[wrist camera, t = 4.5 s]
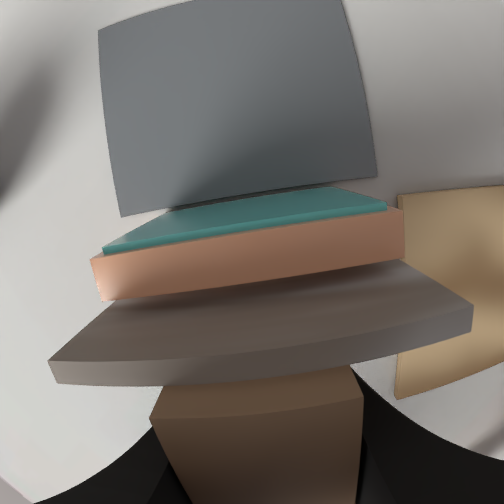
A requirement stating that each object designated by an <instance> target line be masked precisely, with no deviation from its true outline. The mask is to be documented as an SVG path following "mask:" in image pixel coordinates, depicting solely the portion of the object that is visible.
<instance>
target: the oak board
mask: <svg viewBox="0 0 504 504" xmlns="http://www.w3.org/2000/svg"><path fill="white" fill-rule="evenodd" d="M397 200H398V209H400V210H403V224H404V247H405V257H404V258H401V261H403V262H405V263H406V264H408V265H410V266H411V267H413V268H415V269H417V270H418V271H420V272H422V273H423V274H425V275H427V276H428V277H430V278H432V279H433V280H435V281H436V282H438V283H440V284H441V285H443V286H445V287H446V288H448V289H449V290H451V291H453V292H454V293H456V294H457V295H459V296H461V297H462V298H464V299H465V300H467V301H468V302H470V303H471V304H473V305H474V312H473V321H472V330H471V332H469V333H466V334H463V335H460V336H457V337H454V338H451V339H448V340H444V341H441V342H438V343H434V344H431V345H428V346H424V347H420V348H417V349H413V350H409V351H406V352H402V353H398V360H397V370H396V380H395V389H394V395H395V397H396V399H397V400H399V399H403V398H406V397H409V396H413V395H416V394H419V393H422V392H426V391H429V390H432V389H435V388H438V387H441V386H443V385H446V384H449V383H452V382H455V381H457V380H460V379H463V378H465V377H468V376H470V375H473V374H475V373H478V372H480V371H482V370H485V369H487V368H490V367H492V366H494V365H496V364H499V363H501V362H503V361H504V185H496V186H484V187H473V188H462V189H451V190H441V191H432V192H422V193H413V194H404V195H397Z"/></svg>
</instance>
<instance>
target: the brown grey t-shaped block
mask: <svg viewBox="0 0 504 504" xmlns="http://www.w3.org/2000/svg"><path fill="white" fill-rule="evenodd" d="M473 312H474V305H473V304H471V303H470V302H468V301H467V300H465V299H464V298H462V297H461V296H459V295H457V294H456V293H454V292H453V291H451V290H449V289H448V288H446V287H445V286H443V285H441V284H440V283H438V282H436V281H435V280H433V279H432V278H430V277H428V276H427V275H425V274H423V273H422V272H420V271H418V270H417V269H415V268H413V267H411V266H410V265H408V264H406V263H405V262H403V261H401V260H400V259H393V260H388V261H382V262H376V263H371V264H365V265H359V266H353V267H347V268H341V269H335V270H329V271H323V272H317V273H310V274H304V275H298V276H291V277H285V278H278V279H272V280H265V281H258V282H251V283H244V284H237V285H230V286H223V287H216V288H209V289H201V290H194V291H186V292H178V293H171V294H163V295H155V296H146V297H138V298H130V299H121V300H116V301H115V302H114V303H112V304H111V305H110V306H109V307H108V308H107V309H105V310H104V311H103V312H102V313H101V314H100V315H98V316H97V317H96V318H95V319H94V320H93V321H92V322H90V323H89V324H88V325H87V326H86V327H85V328H84V329H82V330H81V331H80V332H79V333H78V334H77V335H76V336H74V337H73V338H72V339H71V340H70V341H69V342H68V343H67V344H65V345H64V346H63V347H62V348H61V349H60V350H59V351H58V352H57V353H55V354H54V355H53V356H52V357H51V358H50V359H49V360H48V364H49V366H50V368H51V370H52V373H53V375H54V377H55V379H56V382H57V383H58V384H72V385H90V386H163V389H162V391H161V393H160V395H159V397H158V400H157V402H156V404H155V406H154V408H153V410H152V413H151V415H150V417H149V420H150V422H151V424H152V426H153V428H154V431H155V433H156V435H157V437H158V439H159V441H160V443H161V445H162V447H163V450H164V452H165V454H166V456H167V458H168V460H169V461H170V463H171V465H172V467H173V469H174V471H175V473H176V475H177V477H178V479H179V480H180V482H181V484H182V486H183V488H184V489H185V491H186V493H187V495H188V496H189V498H190V500H191V502H192V503H193V504H355V498H356V491H357V482H358V473H359V463H360V452H361V440H362V424H363V404H364V396H363V394H362V391H361V389H360V387H359V385H358V383H357V380H356V378H355V376H354V374H353V371H352V369H351V367H350V364H354V363H359V362H364V361H368V360H373V359H377V358H381V357H386V356H390V355H394V354H398V353H402V352H406V351H409V350H413V349H417V348H420V347H424V346H428V345H431V344H434V343H438V342H441V341H444V340H448V339H451V338H454V337H457V336H460V335H463V334H466V333H469V332H471V330H472V321H473Z"/></svg>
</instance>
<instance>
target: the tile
mask: <svg viewBox="0 0 504 504" xmlns="http://www.w3.org/2000/svg"><path fill="white" fill-rule="evenodd" d="M102 250H103V252H101V253H99V254H98V255H96V256H95V257H93V258H91V259H90V262H91V266H92V269H93V273H94V277H95V280H96V283H97V287H98V290H99V293H100V296H101V300H102V302H103V301H112V300H121V299H130V298H138V297H146V296H155V295H163V294H171V293H178V292H186V291H194V290H201V289H209V288H216V287H223V286H230V285H237V284H244V283H251V282H258V281H265V280H272V279H278V278H285V277H291V276H298V275H304V274H310V273H317V272H323V271H329V270H335V269H341V268H347V267H353V266H359V265H365V264H371V263H376V262H382V261H388V260H393V259H399V258H404V257H405V247H404V224H403V210H400V209H397V208H394V207H391V206H388V205H387V202H384V201H381V200H377V199H374V198H371V197H367V196H364V195H360V194H357V193H353V192H350V191H346V190H343V189H339V188H335V187H332V186H329V187H321V188H313V189H306V190H299V191H292V192H285V193H278V194H271V195H265V196H258V197H252V198H246V199H239V200H233V201H227V202H222V203H216V204H210V205H204V206H199V207H193V208H188V209H183V210H177V211H172V212H167V213H165V214H163V215H161V216H159V217H157V218H155V219H153V220H151V221H149V222H147V223H145V224H144V225H142V226H140V227H138V228H136V229H134V230H132V231H131V232H129V233H127V234H125V235H123V236H122V237H120V238H118V239H116V240H114V241H113V242H111V243H109V244H107V245H105V246H104V247H102Z"/></svg>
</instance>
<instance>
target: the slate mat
mask: <svg viewBox="0 0 504 504" xmlns="http://www.w3.org/2000/svg"><path fill="white" fill-rule="evenodd" d="M98 42H99V63H100V77H101V90H102V100H103V110H104V118H105V127H106V134H107V142H108V148H109V155H110V161H111V168H112V173H113V179H114V185H115V190H116V195H117V200H118V205H119V210H120V215H121V217H126V216H130V215H135V214H140V213H144V212H149V211H154V210H159V209H164V208H169V207H174V206H180V205H185V204H190V203H196V202H201V201H207V200H212V199H218V198H224V197H230V196H235V195H242V194H248V193H254V192H260V191H267V190H273V189H280V188H287V187H294V186H301V185H309V184H316V183H324V182H332V181H340V180H349V179H358V178H367V177H376V176H378V175H377V167H376V159H375V152H374V145H373V139H372V132H371V126H370V120H369V115H368V109H367V104H366V99H365V94H364V89H363V84H362V79H361V75H360V71H359V66H358V62H357V58H356V54H355V50H354V46H353V42H352V38H351V35H350V31H349V28H348V24H347V21H346V17H345V14H344V11H343V7H342V4H341V1H340V0H194V1H190V2H185V3H181V4H177V5H173V6H170V7H166V8H162V9H159V10H155V11H152V12H149V13H145V14H142V15H139V16H136V17H133V18H130V19H127V20H125V21H122V22H119V23H116V24H114V25H111V26H108V27H106V28H103V29H101V30H98Z"/></svg>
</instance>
